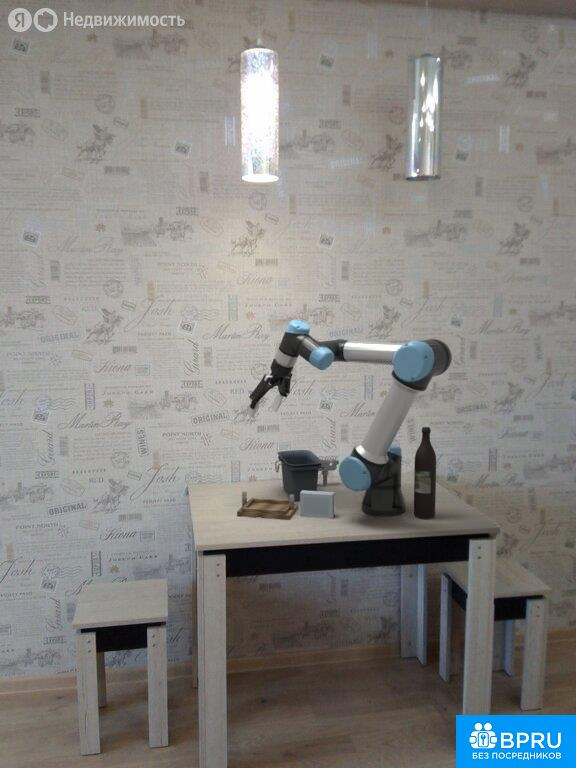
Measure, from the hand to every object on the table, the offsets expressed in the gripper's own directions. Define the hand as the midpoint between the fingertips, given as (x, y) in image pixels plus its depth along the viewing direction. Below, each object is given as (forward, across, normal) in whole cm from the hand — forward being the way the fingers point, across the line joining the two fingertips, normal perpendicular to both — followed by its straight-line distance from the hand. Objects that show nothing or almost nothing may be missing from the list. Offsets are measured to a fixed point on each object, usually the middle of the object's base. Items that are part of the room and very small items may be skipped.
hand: (262, 412), depth 269 cm
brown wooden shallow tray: (+22, +13, +26) cm, 36 cm away
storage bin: (+24, -10, +22) cm, 34 cm away
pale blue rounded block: (+14, +6, +40) cm, 43 cm away
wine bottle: (+1, -14, +66) cm, 67 cm away
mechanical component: (+23, -26, +23) cm, 42 cm away
